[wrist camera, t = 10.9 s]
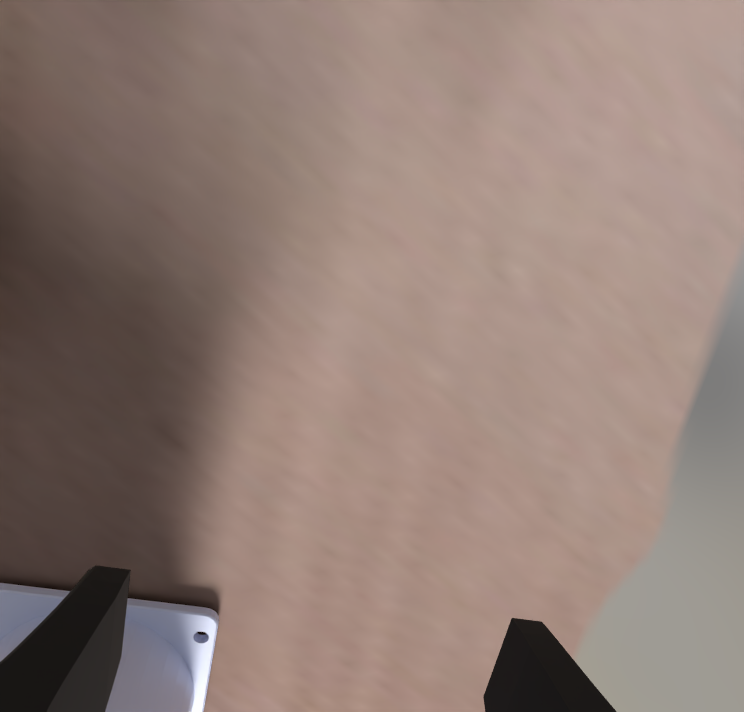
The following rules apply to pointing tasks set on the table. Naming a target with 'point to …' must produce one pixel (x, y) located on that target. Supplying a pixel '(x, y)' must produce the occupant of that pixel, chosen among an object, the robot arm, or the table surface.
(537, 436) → the table surface
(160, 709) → the robot arm
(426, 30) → the table surface
